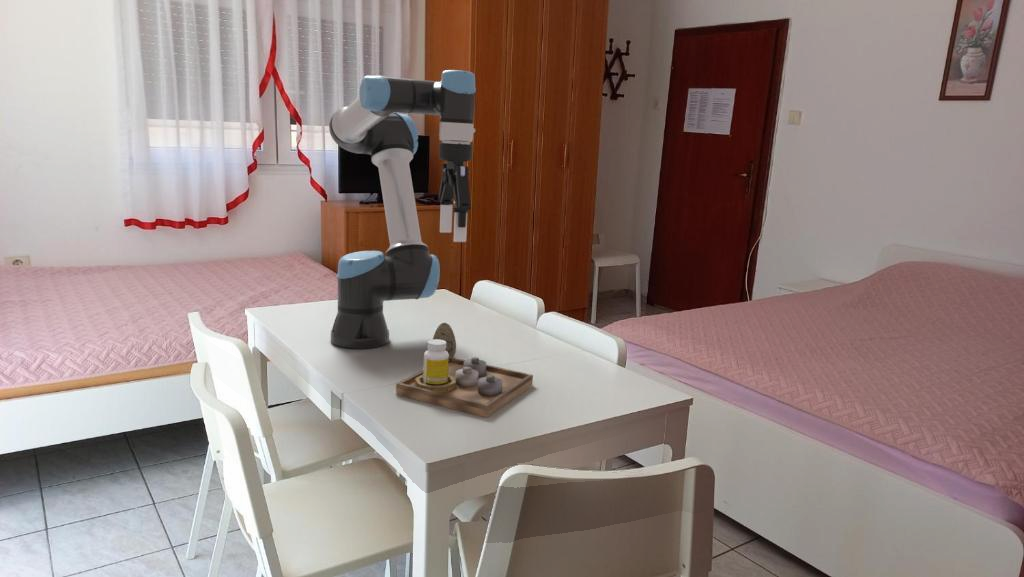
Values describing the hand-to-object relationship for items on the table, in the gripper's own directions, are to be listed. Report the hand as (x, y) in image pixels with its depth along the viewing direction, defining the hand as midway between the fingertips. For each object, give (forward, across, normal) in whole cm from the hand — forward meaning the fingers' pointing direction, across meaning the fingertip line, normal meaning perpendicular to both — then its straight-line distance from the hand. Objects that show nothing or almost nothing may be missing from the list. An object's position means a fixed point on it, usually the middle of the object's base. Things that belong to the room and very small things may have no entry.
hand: (452, 237), depth 162 cm
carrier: (+32, -15, -1) cm, 35 cm away
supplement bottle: (+30, -15, +6) cm, 34 cm away
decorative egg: (+32, +4, 0) cm, 32 cm away
